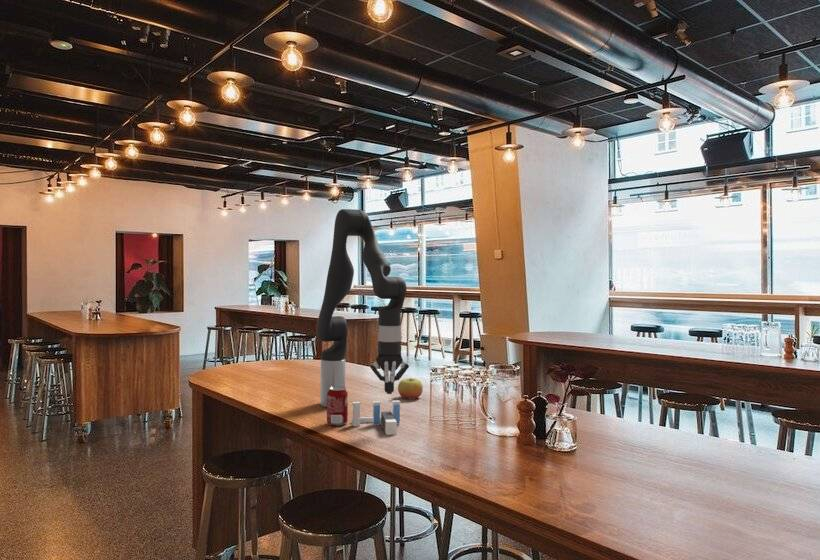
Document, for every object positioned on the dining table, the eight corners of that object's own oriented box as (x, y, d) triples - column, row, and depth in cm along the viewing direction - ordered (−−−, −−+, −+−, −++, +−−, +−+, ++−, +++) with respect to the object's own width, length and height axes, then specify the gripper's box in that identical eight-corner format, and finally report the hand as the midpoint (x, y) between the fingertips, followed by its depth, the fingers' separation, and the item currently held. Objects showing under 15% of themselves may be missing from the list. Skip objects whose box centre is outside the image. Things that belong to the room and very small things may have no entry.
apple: (408, 402, 218) (409, 381, 218) (392, 397, 225) (393, 377, 225) (427, 398, 224) (427, 378, 224) (411, 394, 232) (411, 374, 231)
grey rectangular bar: (381, 423, 188) (381, 411, 188) (390, 423, 188) (390, 411, 188) (386, 435, 175) (386, 422, 175) (396, 434, 175) (396, 421, 175)
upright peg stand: (351, 422, 188) (351, 399, 188) (397, 420, 191) (397, 398, 191) (352, 426, 183) (353, 403, 183) (400, 424, 186) (400, 401, 186)
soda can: (343, 427, 182) (344, 390, 182) (323, 426, 184) (324, 389, 183) (350, 421, 189) (350, 386, 189) (330, 420, 190) (331, 385, 190)
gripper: (407, 337, 184) (407, 390, 185) (367, 338, 182) (367, 391, 182) (412, 340, 177) (411, 395, 177) (370, 341, 175) (369, 396, 175)
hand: (389, 393), depth 180 cm, fingers closed
